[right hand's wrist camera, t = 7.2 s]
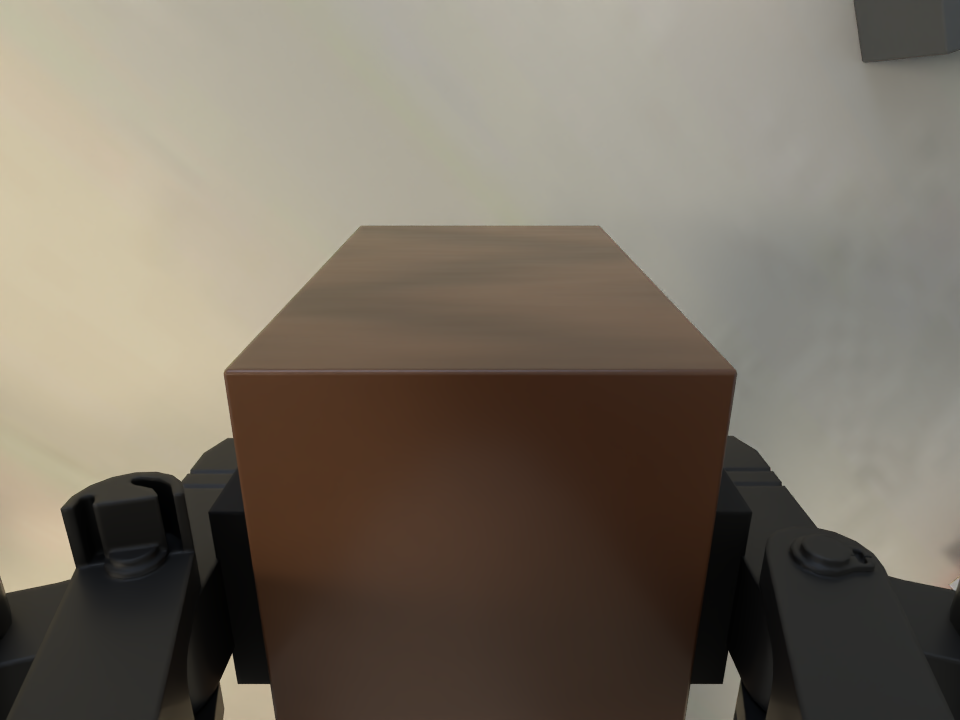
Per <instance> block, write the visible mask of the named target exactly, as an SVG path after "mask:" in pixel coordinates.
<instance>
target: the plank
mask: <svg viewBox="0 0 960 720" xmlns="http://www.w3.org/2000/svg"><path fill="white" fill-rule="evenodd" d="M736 377H737V372H736V370H735V369H734V368H733V366H732V365H731V364H730V363H729V362H728V361H727V360H726V359H725V358H724V357H723V356H722V355H721V354H720V353H719V352H718V351H717V350H716V348H715V347H714V346H713V345H712V344H711V343H710V342H709V341H708V340H707V339H706V338H705V337H704V336H703V335H702V334H701V333H700V332H699V331H698V329H697V328H696V327H695V326H694V325H693V324H692V323H691V322H690V321H689V320H688V319H687V318H686V317H685V316H684V315H683V314H682V313H681V311H680V310H679V309H678V308H677V307H676V306H675V305H674V304H673V303H672V302H671V301H670V300H669V299H668V298H667V297H666V296H665V295H664V294H663V292H662V291H661V290H660V289H659V288H658V287H657V286H656V285H655V284H654V283H653V282H652V281H651V280H650V279H649V278H648V277H647V276H646V274H645V273H644V272H643V271H642V270H641V269H640V268H639V267H638V266H637V265H636V264H635V263H634V262H633V261H632V260H631V259H630V258H629V257H628V255H627V254H626V253H625V252H624V251H623V250H622V249H621V248H620V247H619V246H618V245H617V244H616V243H615V242H614V241H613V240H612V239H611V237H610V236H609V235H608V234H607V233H606V232H605V231H604V230H603V229H602V228H601V227H600V226H360V227H359V228H358V229H357V230H356V232H355V233H354V234H353V235H352V236H351V237H350V238H349V239H348V240H347V241H346V242H345V243H344V244H343V245H342V246H341V247H340V248H339V250H338V251H337V252H336V253H335V254H334V255H333V256H332V257H331V258H330V259H329V260H328V261H327V262H326V263H325V264H324V265H323V267H322V268H321V269H320V270H319V271H318V272H317V273H316V274H315V275H314V276H313V277H312V278H311V279H310V280H309V281H308V282H307V283H306V285H305V286H304V287H303V288H302V289H301V290H300V291H299V292H298V293H297V294H296V295H295V296H294V297H293V298H292V299H291V300H290V302H289V303H288V304H287V305H286V306H285V307H284V308H283V309H282V310H281V311H280V312H279V313H278V314H277V315H276V316H275V317H274V318H273V320H272V321H271V322H270V323H269V324H268V325H267V326H266V327H265V328H264V329H263V330H262V331H261V332H260V333H259V334H258V335H257V337H256V338H255V339H254V340H253V341H252V342H251V343H250V344H249V345H248V346H247V347H246V348H245V349H244V350H243V351H242V352H241V353H240V355H239V356H238V357H237V358H236V359H235V360H234V361H233V362H232V363H231V364H230V365H229V366H228V367H227V368H226V369H225V371H224V379H225V385H226V392H227V399H228V405H229V412H230V419H231V425H232V432H233V439H234V445H235V452H236V459H237V465H238V472H239V479H240V485H241V492H242V499H243V505H244V512H245V519H246V525H247V532H248V539H249V545H250V552H251V559H252V565H253V572H254V579H255V585H256V592H257V598H258V605H259V612H260V618H261V625H262V632H263V638H264V645H265V652H266V658H267V665H268V672H269V678H270V685H271V692H272V698H273V705H274V712H275V718H276V720H685V716H686V709H687V703H688V696H689V689H690V683H691V676H692V669H693V663H694V656H695V650H696V643H697V636H698V630H699V623H700V616H701V610H702V603H703V596H704V590H705V583H706V576H707V570H708V563H709V556H710V550H711V543H712V537H713V530H714V523H715V517H716V510H717V503H718V497H719V490H720V483H721V477H722V470H723V463H724V457H725V450H726V443H727V437H728V430H729V423H730V417H731V410H732V404H733V397H734V390H735V384H736Z"/></svg>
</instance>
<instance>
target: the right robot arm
mask: <svg viewBox="0 0 960 720" xmlns="http://www.w3.org/2000/svg"><path fill="white" fill-rule="evenodd" d="M190 471H191V472H190V474H187V475H186V477H185V478H184V479H183V481H182V482H181V481H180V480H178V479H177V478H176V477H174V476H173V475H169V474H164V473H159V472H136V473H131V474H126V475H121V476H116V477H112V478H109V479H106V480H104V481H101V482H98V483H96V484H93V485H90V486H89V487H87V488H85V489H84V490H82V491H80V492H79V493H77V494H75V495H74V496H72V497H71V498H70V499H69V500H68V501H67V502H66V504H65V505H64V506H63V507H62V508H61V513H62V517H63V520H64V524H65V528H66V532H67V535H68V539H69V543H70V547H71V550H72V554H73V558H74V562H75V565H76V570H75V572H74V574H73V576H72V578H71V580H67V581H63V582H59V583H55V584H50V585H45V586H40V587H35V588H30V589H25V590H20V591H15V592H10V593H5V590H4V587H3V584H2V581H1V578H0V720H223V715H224V705H223V698H222V692H221V687H220V679H221V677H222V675H223V673H224V670H225V668H226V666H227V664H228V661H229V659H230V657H231V655H232V653H233V659H234V665H235V670H236V676H237V682H238V684H270V678H269V672H268V665H267V658H266V652H265V645H264V638H263V632H262V625H261V618H260V612H259V605H258V598H257V592H256V585H255V579H254V572H253V565H252V559H251V552H250V545H249V539H248V532H247V525H246V519H245V512H244V505H243V499H242V492H241V485H240V479H239V472H238V465H237V459H236V452H235V445H234V439H233V438H227V439H226V440H224V441H222V442H221V443H219V444H218V445H216V446H214V447H213V448H211V449H210V450H208V451H206V452H205V453H204V454H203V455H202V456H201V457H200V459H199V460H198V461H197V463H196V464H195V465H194V466H193V468H192V469H191V470H190ZM728 650H729V653H730V655H731V657H732V659H733V661H734V664H735V666H736V668H737V670H738V673H739V675H740V677H741V681H740V687H739V692H738V697H737V703H736V708H735V714H734V719H733V720H960V580H959V583H958V586H957V589H956V591H955V590H950V589H945V588H940V587H935V586H930V585H925V584H920V583H915V582H910V581H905V580H901V579H897V578H894V577H890V576H888V575H887V573H886V571H885V568H884V567H883V565H882V564H881V563H880V561H879V560H878V559H877V558H876V556H875V555H874V554H873V553H872V552H870V551H869V550H868V549H866V548H865V547H863V546H862V545H861V544H859V543H858V542H856V541H854V540H852V539H849V538H847V537H845V536H843V535H840V534H838V533H836V532H832V531H828V530H824V529H819V528H817V527H816V525H815V524H814V523H813V522H812V520H811V519H810V518H809V516H808V515H807V514H806V513H805V511H804V510H803V509H802V508H801V506H800V505H799V504H798V502H797V501H796V500H795V499H794V497H793V496H792V495H791V494H790V492H789V491H788V490H787V488H786V487H785V486H782V482H781V481H780V480H779V478H778V477H777V476H776V475H775V473H774V472H773V471H770V467H769V466H768V464H767V463H766V462H765V461H764V459H763V458H762V457H761V455H760V454H759V453H758V452H757V451H756V450H755V449H753V448H752V447H750V446H748V445H747V444H745V443H743V442H742V441H740V440H739V439H737V438H735V437H734V436H728V437H727V443H726V450H725V457H724V463H723V470H722V477H721V483H720V490H719V497H718V503H717V510H716V517H715V523H714V530H713V537H712V543H711V550H710V556H709V563H708V570H707V576H706V583H705V590H704V596H703V603H702V610H701V616H700V623H699V630H698V636H697V643H696V650H695V656H694V663H693V669H692V676H691V683H690V684H723V679H724V673H725V667H726V661H727V656H728Z"/></svg>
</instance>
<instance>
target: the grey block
mask: <svg viewBox="0 0 960 720" xmlns="http://www.w3.org/2000/svg"><path fill="white" fill-rule="evenodd" d="M854 5H855V12H856V19H857V26H858V33H859V40H860V47H861V54H862V61H863V62H874V61H884V60H894V59H903V58H913V57H923V56H933V55H943V54H949V53H952V52H955V51H958V50H960V0H854Z"/></svg>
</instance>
